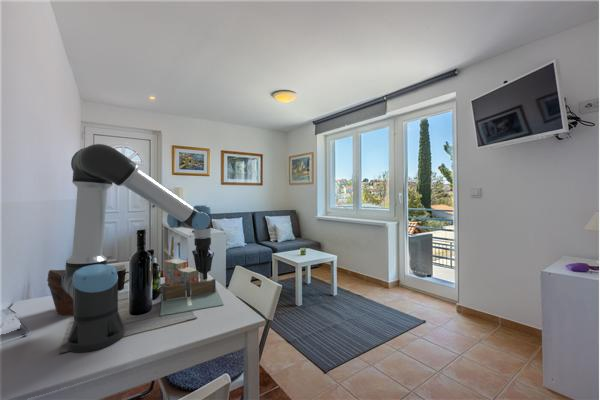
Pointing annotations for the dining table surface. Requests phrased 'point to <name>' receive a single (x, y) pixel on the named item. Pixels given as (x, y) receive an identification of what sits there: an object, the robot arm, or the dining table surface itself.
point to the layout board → (190, 303)
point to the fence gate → (203, 287)
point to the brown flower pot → (59, 293)
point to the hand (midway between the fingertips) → (203, 285)
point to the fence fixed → (176, 291)
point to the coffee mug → (121, 277)
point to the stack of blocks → (179, 272)
